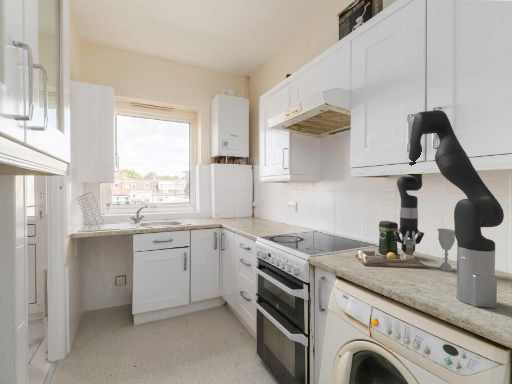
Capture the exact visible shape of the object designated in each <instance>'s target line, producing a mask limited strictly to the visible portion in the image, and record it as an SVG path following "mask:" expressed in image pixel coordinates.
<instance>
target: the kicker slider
mask: <svg viewBox="0 0 512 384" xmlns="http://www.w3.org/2000/svg"><path fill="white" fill-rule="evenodd" d="M405 245H406V252H399V253H400V254H399V256H400V259H403V260H414V259H415V255H414V253H413V240H410V238H408V239H407V240H406V244H405Z"/></svg>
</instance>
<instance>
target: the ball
mask: <svg viewBox="0 0 512 384" xmlns="http://www.w3.org/2000/svg"><path fill="white" fill-rule="evenodd" d="M396 256H397V255H395V254H394V253H392V252H389V253H388V254H387V258H388V259H395V258H396Z"/></svg>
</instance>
